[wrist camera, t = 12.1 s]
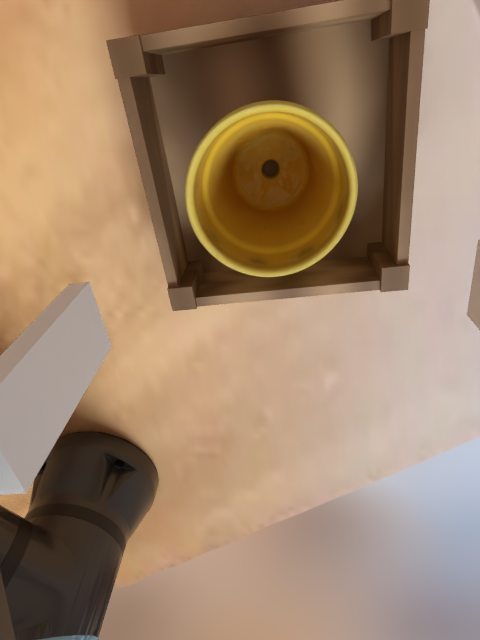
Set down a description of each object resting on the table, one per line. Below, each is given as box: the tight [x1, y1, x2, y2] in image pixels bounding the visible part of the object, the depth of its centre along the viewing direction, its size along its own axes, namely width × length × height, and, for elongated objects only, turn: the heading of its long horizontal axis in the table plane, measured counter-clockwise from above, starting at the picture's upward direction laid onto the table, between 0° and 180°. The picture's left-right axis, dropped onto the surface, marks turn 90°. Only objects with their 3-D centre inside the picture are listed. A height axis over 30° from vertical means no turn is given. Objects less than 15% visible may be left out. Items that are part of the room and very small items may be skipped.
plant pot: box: [185, 100, 358, 277], centre depth 29 cm, size 10×10×10 cm
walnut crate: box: [106, 0, 430, 311], centre depth 31 cm, size 19×19×6 cm
